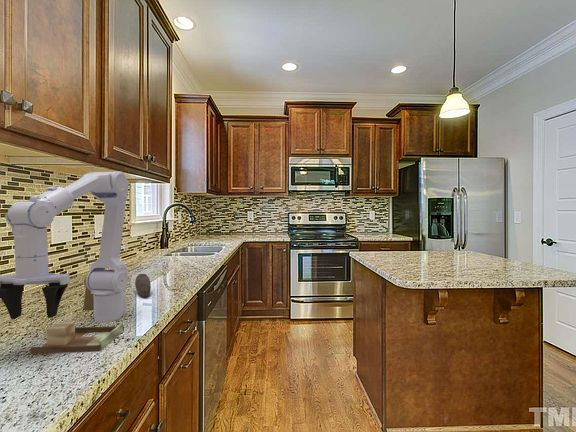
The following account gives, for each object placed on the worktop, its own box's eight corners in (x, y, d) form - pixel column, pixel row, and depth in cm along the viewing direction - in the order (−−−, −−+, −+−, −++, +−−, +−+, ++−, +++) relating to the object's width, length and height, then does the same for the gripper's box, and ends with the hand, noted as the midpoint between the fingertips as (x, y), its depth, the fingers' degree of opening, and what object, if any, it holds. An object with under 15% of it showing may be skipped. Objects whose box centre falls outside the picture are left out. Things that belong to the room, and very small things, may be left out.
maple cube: (58, 338, 79) (57, 322, 79) (75, 338, 80) (74, 322, 80) (47, 345, 76) (46, 328, 75) (65, 345, 76) (64, 328, 76)
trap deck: (64, 338, 83) (64, 324, 83) (124, 336, 84) (123, 323, 84) (30, 360, 72) (29, 344, 71) (100, 357, 72) (99, 342, 72)
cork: (107, 304, 112) (106, 273, 111) (97, 310, 106) (97, 277, 105) (89, 304, 111) (89, 273, 111) (79, 310, 105) (78, 277, 105)
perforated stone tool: (152, 298, 119) (152, 279, 119) (137, 300, 117) (136, 281, 116) (149, 289, 132) (148, 272, 132) (134, 290, 130) (134, 273, 130)
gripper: (-20, 259, 66) (-17, 324, 67) (54, 258, 67) (57, 322, 68) (7, 254, 73) (10, 313, 74) (74, 253, 74) (76, 311, 75)
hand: (34, 316), depth 71 cm, fingers open, 7 cm apart
